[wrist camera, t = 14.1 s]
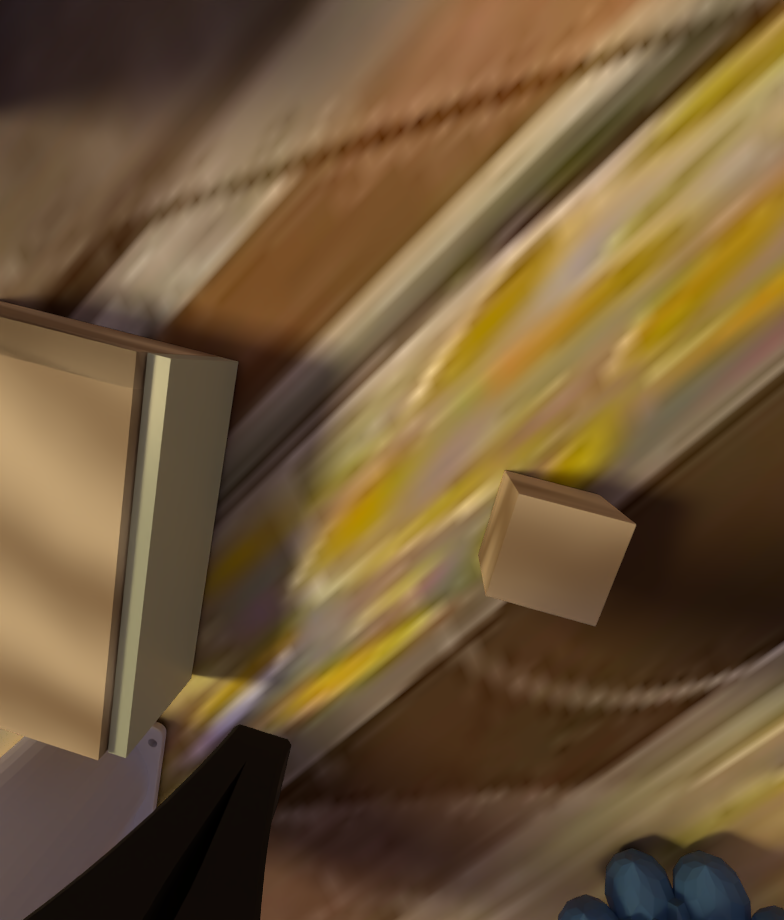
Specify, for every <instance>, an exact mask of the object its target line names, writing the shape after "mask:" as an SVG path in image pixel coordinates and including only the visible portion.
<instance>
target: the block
mask: <svg viewBox="0 0 784 920" xmlns="http://www.w3.org/2000/svg"><path fill="white" fill-rule="evenodd" d="M635 527H636V524H635V523H634V522H633V521H631V520H630V519H629V518H628V517H626V516H625V515H624V514H623V513H621V512H620V511H619V510H618V509H616V508H615V507H614V506H613V505H611V504H610V503H609V502H608V501H606V500H605V499H604V498H603V497H601V496H600V495H598V494H594V493H591V492H587V491H583V490H579V489H575V488H571V487H568V486H564V485H560V484H556V483H552V482H548V481H544V480H541V479H537V478H533V477H529V476H525V475H521V474H517V473H514V472H510V471H506V470H505V471H504V474H503V477H502V481H501V484H500V487H499V490H498V493H497V497H496V500H495V503H494V506H493V509H492V513H491V516H490V519H489V522H488V525H487V529H486V532H485V535H484V538H483V541H482V544H481V548H480V551H479V554H478V556H479V561H480V567H481V572H482V578H483V583H484V588H485V594H486V596H489V597H492V598H496V599H499V600H503V601H507V602H510V603H514V604H517V605H521V606H524V607H528V608H532V609H535V610H539V611H542V612H546V613H549V614H553V615H557V616H560V617H564V618H567V619H571V620H574V621H578V622H582V623H585V624H589V625H592V626H596V624H597V621H598V619H599V616H600V614H601V611H602V609H603V606H604V604H605V602H606V599H607V597H608V594H609V592H610V589H611V587H612V584H613V582H614V579H615V577H616V574H617V572H618V569H619V567H620V564H621V562H622V559H623V557H624V554H625V552H626V549H627V547H628V544H629V542H630V539H631V537H632V534H633V532H634V529H635Z"/></svg>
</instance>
